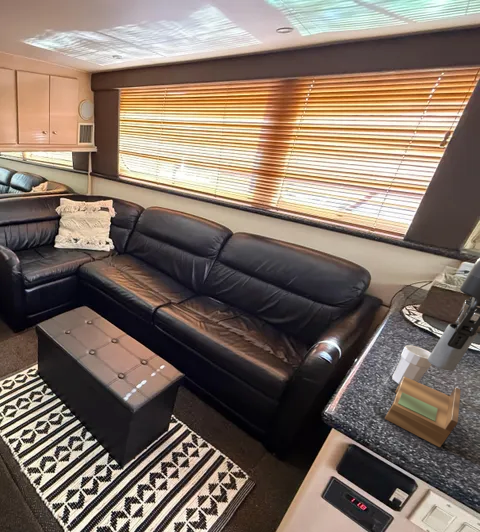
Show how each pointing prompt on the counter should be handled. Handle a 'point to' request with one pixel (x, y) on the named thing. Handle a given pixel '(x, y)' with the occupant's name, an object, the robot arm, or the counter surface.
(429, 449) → the counter surface
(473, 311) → the robot arm
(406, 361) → the cup
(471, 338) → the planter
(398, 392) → the green-lined wooden tray
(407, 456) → the counter surface
